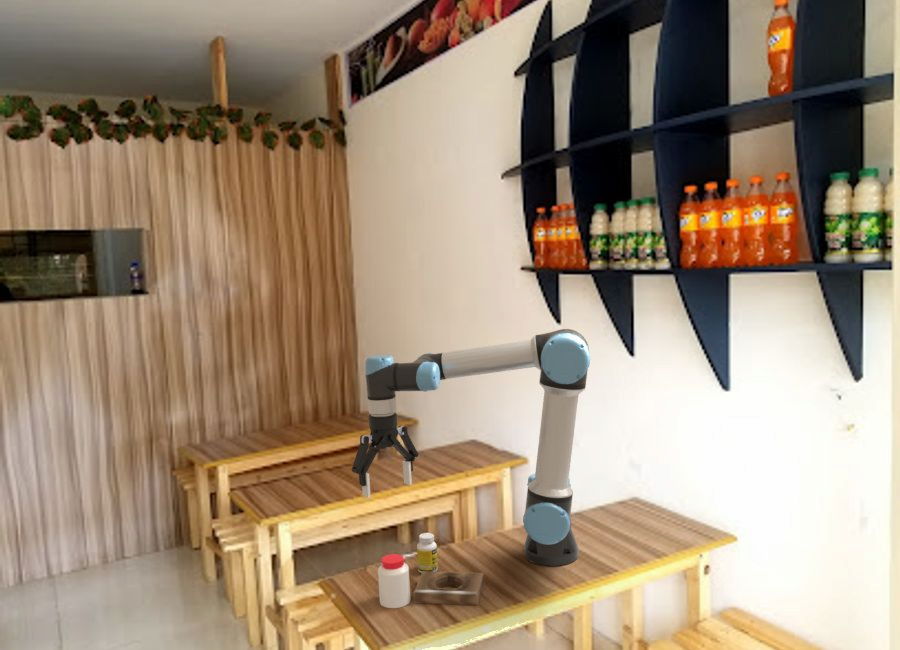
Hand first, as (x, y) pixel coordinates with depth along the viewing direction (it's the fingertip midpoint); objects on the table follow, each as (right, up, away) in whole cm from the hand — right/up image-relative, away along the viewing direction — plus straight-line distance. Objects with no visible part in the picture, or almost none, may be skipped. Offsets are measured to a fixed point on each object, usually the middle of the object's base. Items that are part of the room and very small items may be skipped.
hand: (387, 490), depth 192 cm
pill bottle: (+3, -24, -15) cm, 29 cm away
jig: (+17, -23, -12) cm, 31 cm away
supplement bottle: (+11, -22, +2) cm, 25 cm away
